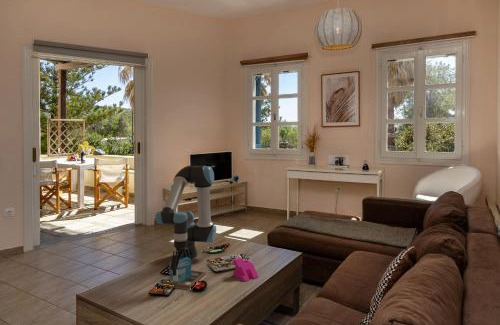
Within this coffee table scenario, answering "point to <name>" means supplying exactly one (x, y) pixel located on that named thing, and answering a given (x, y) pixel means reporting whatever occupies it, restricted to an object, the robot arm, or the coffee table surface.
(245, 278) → the pink plastic figure
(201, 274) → the slot board
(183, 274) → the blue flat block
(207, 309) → the coffee table surface
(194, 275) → the rubber bar
